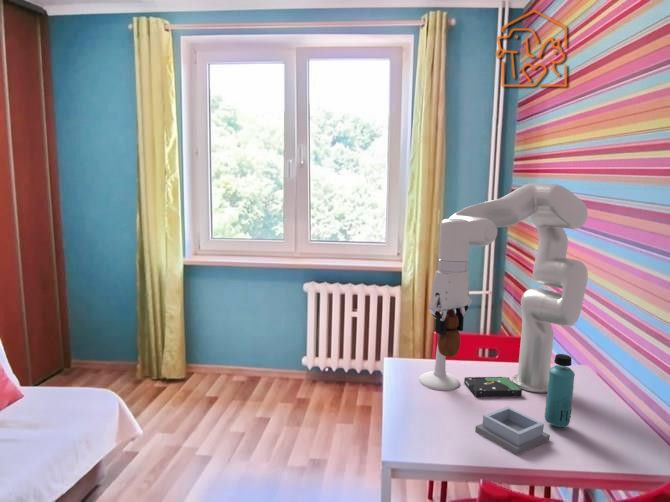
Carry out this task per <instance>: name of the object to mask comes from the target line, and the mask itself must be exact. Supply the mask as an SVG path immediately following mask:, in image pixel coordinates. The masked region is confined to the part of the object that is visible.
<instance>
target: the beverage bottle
mask: <svg viewBox="0 0 670 502" xmlns="http://www.w3.org/2000/svg"><path fill="white" fill-rule="evenodd" d="M554 364H556V365H554V366H552V367H550V370H549V381H548V391H547V392H546V399H545V407H544V408H545V409H544V416H543V417H544V419H545V421H546V423H548V424H550V425H553V426H556V427H568V426H569V425H570V423H571V415H572V409H573V408H572V404H573V396H574V389H575V387H574V386H575V385H574V383H575V381H574V380H575V375H576V374H575V372H574V371H573V370H572V369H571V368H570V366H572V357H571V356H570V355H567V354H564V353H557V354H556V355H555V357H554Z"/></svg>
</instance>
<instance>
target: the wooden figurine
mask: <svg viewBox="0 0 670 502" xmlns="http://www.w3.org/2000/svg"><path fill="white" fill-rule="evenodd" d="M445 321H446V334H445V335H440V334H438V333H437V340H436V341H437V344H438V348H439V352H440V353H441V354H442V355H443V356H446V358H447V357H448V358H451V357H455V356H457V354H458V353H459V350H460V348H461V335H460V331H459V330H457V329H456V328H457V327H458V325H459V320H458V317H457V315H455V310H454V309H451V310H447V314H446V317H445Z"/></svg>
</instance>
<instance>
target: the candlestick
mask: <svg viewBox="0 0 670 502" xmlns="http://www.w3.org/2000/svg"><path fill="white" fill-rule="evenodd" d="M440 314H442V310H441V311H440ZM436 345H437V346H436V353H435V361H434V362H435V363H434V369H433V370H429V371H426V372H424V373H422V374H420V375H419V378H418V381H419V383H420V384H421V385H422V386H423V387H426V388H428V389H432V390H436V391H452V390H456V389H457V388H459V387H460V380H459V379H458V378H457V377H456V376H455V375H453V374H451V373H450V372H446V371H447V370H446V368H447V367H446V362H447V361H446V358H447V356H443V355H442V354H441V353H440V352H439V348H438V343H437V344H436Z"/></svg>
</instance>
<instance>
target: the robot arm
mask: <svg viewBox="0 0 670 502" xmlns="http://www.w3.org/2000/svg"><path fill="white" fill-rule="evenodd" d="M528 217H530V219H531V221H532V222H533V224H534V226H535V228H536V230H537V235H538V246H537V249H536V254H535V258H534V265H533V269H532V278H533V280H534V282H536V283H538V284H540V285H543V286H548V287H552V288H556V289H559V290H560V289H561V290H562V291H561V292H562V293H561V292H557V291H556V292H555V291H553V290H548V289H545V288H544V289H543V288H537V287H535V288H528V289H527V290H525V291H524V292H523V294H522V296H521V298H520V309H521V310H520V311H521V317H522V318H521V320H522V321H521V323H522V324H521V334H520V335H521V336H520V344H519V345H520V347H519V357H518V367H517V368H518V369H517V374H514V375H513V376H512V378H511V381H513V383H515V384H517V386H518V387H519V388H521V389H522V390H525V391H528V392H531V393H541V394H542V393H547V391H548V381H549V370H550V368H551V364H552V356H553V355H552V354H553V346H554V338H555V336H554V335H555V334H554V330H553V329H554V328H553V326H552V324H553V325H557V326H561V327H567V328H570V327H573V326H574V325H576V323H577V322H578V320H579V318H580V316H581V312H582V308H583V307H582V306H583V303H584V298H585V294H586V289H587V286H588V285H587V284H588V279H589V274H588V269H587V266H586V265H585V263H584V262H582V261H580V260H579V259H573V258H567V253H568V247H569V239H568V235H567V233H566V231H565V229H569V230H570V229H571V230H575V229H580V228H582V227H583V226H584V225H585V224H586V223H587V220H588V217H589V213H588V207H587V205H586V204H585V202H584V201H583V200H582V199H581V198H579V197H578V196H577V195H575V194H574V193H573V192H572V191H570V190H569V189H568V188H566V187H565V186H562V185H560V184H555V183H537V182H536V183H535V182H531V183H526V184H524V185H522V186H519V188H517V189H514V190H513V191H511V192H510V193H508V194H506V195H504V196H502V197H500V198H497V199H493V200H488V201H484V202H480V203H476V204H472V205H470V206H466V207H464V208H462V209H461V210H459V211H457V212H455V213H454V214H452V215H451V216H450V217H449V218H445V219H442V221H441V222H440V223H439V224H440V226H439V246H438V247H439V248H438V263H437V265H438V266H437V267H438V268H437V270H436V271H435V274H434V276H433V277H434V278H433V281H432V288H431V295H430V297H431V298H430V304H429V306H428V308H427V309H428V311H429V312H430V313H431V315H432V316H433V317H434V320H435V329H434V330H435V333H436V334H437V335H438V334H440V335H445V334H446V321H445V317H446V314H447V310H451V309H453V311H455V315H457V317H458V320H459V325H458V327H457V328H456V329H457V330H458V331H459V332H462V331H464V317H465V316H466V315H467V313H466V312H467V311H468V309H469V307H470V305H472V303H473V300H472V298H471V297H470V276H469V275H470V274H469V271H468V266H469V250H470V246H472V247H473V246H475V247H485V246H488V245H490V244H492V243H494V242H495V240H496V238H497V236H498V228H505V227H511V226H512V227H513V226H514V225H515V226H516V225H517V224H519V223H520V222H521V221H524V220H526V219H527V218H528ZM441 310H442V314H440V312H441Z"/></svg>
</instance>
